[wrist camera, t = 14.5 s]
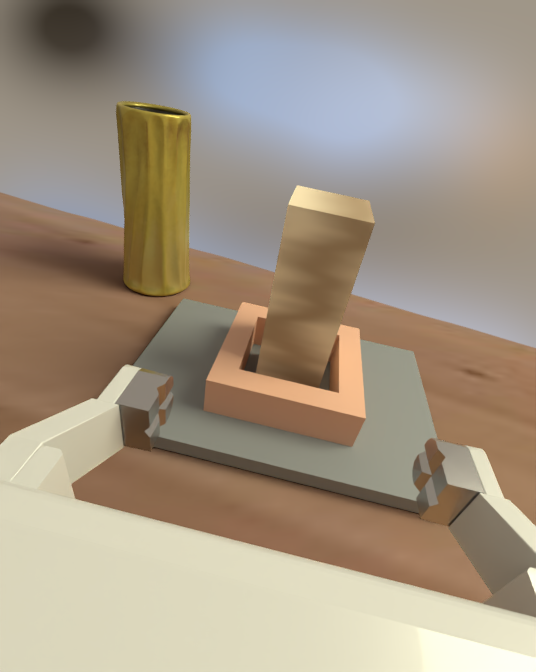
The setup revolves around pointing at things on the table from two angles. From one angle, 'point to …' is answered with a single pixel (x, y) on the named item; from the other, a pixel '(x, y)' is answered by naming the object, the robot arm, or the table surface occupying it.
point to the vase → (155, 196)
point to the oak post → (313, 283)
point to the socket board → (292, 406)
